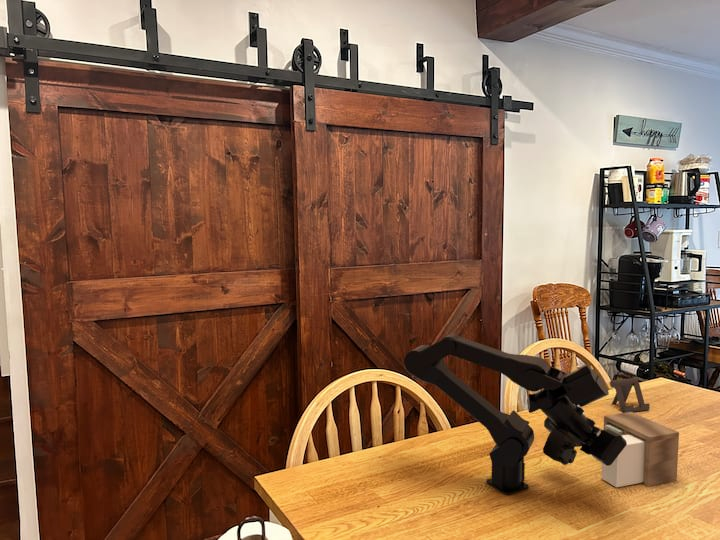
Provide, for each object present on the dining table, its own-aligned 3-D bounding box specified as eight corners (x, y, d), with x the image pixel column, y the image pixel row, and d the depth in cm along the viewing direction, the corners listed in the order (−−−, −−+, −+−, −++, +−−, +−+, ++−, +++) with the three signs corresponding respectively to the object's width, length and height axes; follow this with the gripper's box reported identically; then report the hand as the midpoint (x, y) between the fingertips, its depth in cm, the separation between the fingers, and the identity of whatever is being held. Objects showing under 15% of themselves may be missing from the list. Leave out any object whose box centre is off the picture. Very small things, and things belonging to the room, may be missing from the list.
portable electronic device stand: (624, 414, 154) (625, 386, 154) (605, 405, 162) (606, 378, 161) (649, 411, 157) (650, 383, 156) (629, 402, 164) (631, 376, 163)
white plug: (616, 487, 111) (617, 446, 111) (601, 478, 115) (603, 438, 115) (660, 478, 115) (662, 438, 114) (644, 470, 119) (646, 431, 118)
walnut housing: (644, 487, 112) (646, 437, 111) (599, 461, 124) (600, 416, 123) (676, 480, 115) (679, 432, 114) (629, 455, 127) (631, 411, 126)
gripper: (511, 425, 116) (552, 466, 120) (568, 462, 98) (614, 509, 102) (542, 386, 117) (582, 428, 121) (605, 416, 99) (648, 464, 104)
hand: (604, 456), depth 112 cm, fingers closed
